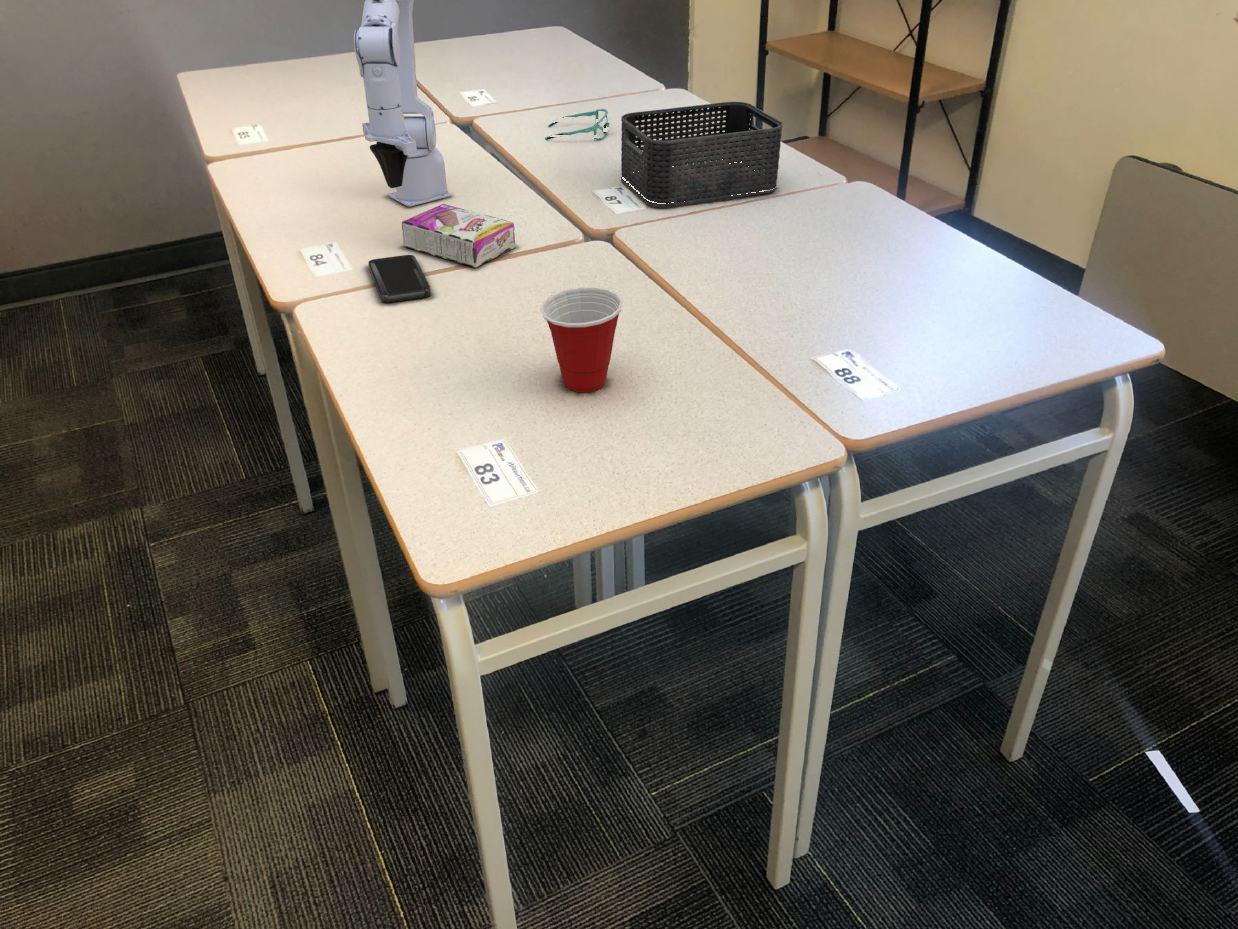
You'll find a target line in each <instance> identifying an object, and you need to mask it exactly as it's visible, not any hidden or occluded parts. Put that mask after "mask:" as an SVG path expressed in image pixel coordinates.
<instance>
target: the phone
mask: <svg viewBox="0 0 1238 929" xmlns="http://www.w3.org/2000/svg"><path fill="white" fill-rule="evenodd" d="M367 263H368V269H369V271H370V274H371V277H372V280H373V282H374V285H375V288H376V291H377V292H378V295H379V298H380V301H381V302H382V303H386V304H388V303H389V304H390V303H396V302H403V301H411V300H418V299H424V298H428V297H430V296H431V294H432V293H431V287H430V284H429V282H428V280H427V279H426V275H425V274H424V271H423V270H422V268H421V266H420V264H419V261H418V259H417V258H416V256H415V255H414V254H404V255H403V254H402V255H396V256H388V257H387V256H386V257H381V258H380V257H379V258H372V259H370V260H368V262H367Z"/></svg>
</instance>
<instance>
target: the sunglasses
mask: <svg viewBox="0 0 1238 929" xmlns="http://www.w3.org/2000/svg"><path fill="white" fill-rule="evenodd" d="M599 112H604V115H603V116H602V117H601V118H600V120H599ZM608 113H609V112H608V110H607V109H606V108H599V109H596V110H592V111H586V112H580V113H576V114H572V115H571V114H570V115H565V116H562V117H561V118H564V117H575V118H579V117H592V116H595V120H596V119H598V122H597V123H596V122H595V123H594V125H592V126H589V127H586V128H582V129H581V128H580V129H577V130H574V131H573V130H572V131H568V132H567V131H566V132H559V133H556V134H555V133H554V135H569V136H572V135H577V134H582V133H583V134H584V133H585V134H588V133H590V132H593V136H594V135H596V134H598V132H597V130H598V128H599V129H600V130H602V133H603V134H604V135H603V136H602V137H599V138H594V137H593V140H594V141H596V140H595V139H602V140H604V139H605V138H607V136H608V133H609V131H608V132H603V127H604V128H606V126H607V127H609V128H610V122H608ZM605 118H606V122H605V123H604V125H603V126H601V125H600V124H601V123H602V122H603V121H604V120H605ZM557 124H559V122H555V123H553V122H551V123H549V124H548V125H547V127H548V128H551V127H554V126H555V125H557ZM606 135H607V136H606ZM550 136H551V135H549V136H546V137H544V140H545V141H548V140H552V139H556V138H557V137H550ZM604 137H605V138H604Z"/></svg>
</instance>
